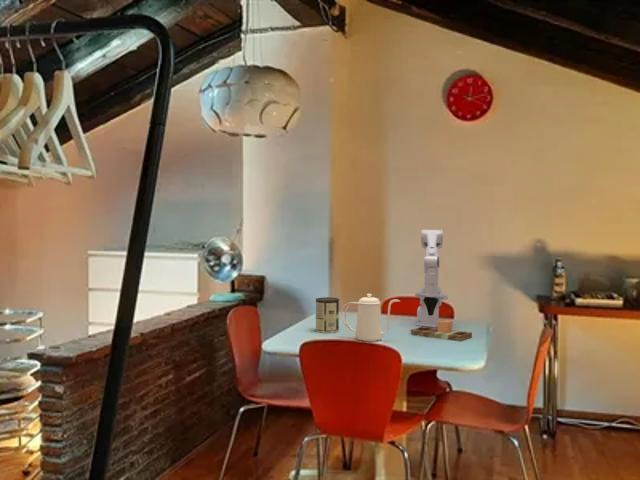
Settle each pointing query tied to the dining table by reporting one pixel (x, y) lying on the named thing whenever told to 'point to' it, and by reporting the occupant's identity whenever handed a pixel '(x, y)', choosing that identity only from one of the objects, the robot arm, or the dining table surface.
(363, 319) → the coffeepot
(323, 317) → the coffee can
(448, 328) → the block
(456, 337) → the board
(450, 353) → the dining table surface
